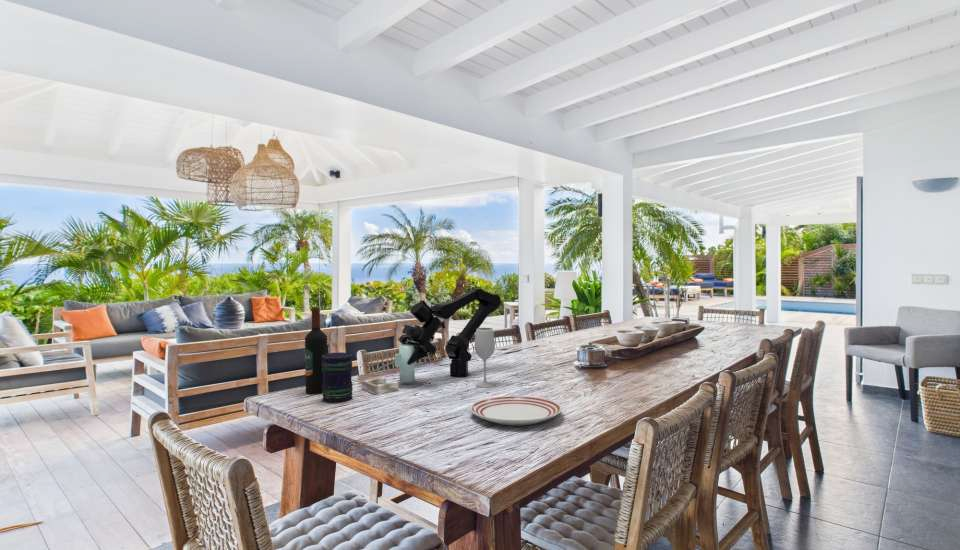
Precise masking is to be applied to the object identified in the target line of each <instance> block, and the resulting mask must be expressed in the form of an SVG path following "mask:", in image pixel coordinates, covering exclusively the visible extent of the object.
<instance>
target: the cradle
mask: <svg viewBox="0 0 960 550" xmlns="http://www.w3.org/2000/svg"><path fill="white" fill-rule="evenodd" d="M362 389H363V390H362ZM361 390H362V391H365V392H367V391H368V392H367V393H369V392H370V393H369V394H372V393H373V394H372V395H374V394H378V395H381V394H380V393H383V394H386V393H385V392H388V393H392V392H391V391H393V392H397V391H396V390H398V391H399V388H398V381H393V382H388V383H387V377H378V378H373V379H367V380H361Z"/></svg>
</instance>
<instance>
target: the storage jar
mask: <svg viewBox="0 0 960 550" xmlns="http://www.w3.org/2000/svg"><path fill="white" fill-rule="evenodd" d="M352 357H353V354H352V353H350V352H331V353H330V352H329V353H327V354H324V355H322V359H323V360H322V373H323V384H322V402H323V403H325V402H326V403H325V404H341V403H342V402H343V403H347V401H348V402H350V401H352V400H353V385H354V384H353V381H352V371H353V360H352V359H353V358H352ZM351 399H352V400H351Z"/></svg>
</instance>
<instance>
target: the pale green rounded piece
mask: <svg viewBox="0 0 960 550" xmlns="http://www.w3.org/2000/svg"><path fill="white" fill-rule="evenodd" d="M414 350H415V348H414V345H413V344H402V343H401V344H399V345H398V353H396V354H394V355H393V356H394V357H393V358H394V360H393V361H394V367H399V381H402V382H410V381H416V380H415V379H416V377H415V376H416V375H415V371H416V370H415V362H414V363H412V364H410V365H408V364H407V362H408V360H409V358H410V357H411V355H412V354H413V352H414Z"/></svg>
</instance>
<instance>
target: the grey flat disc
mask: <svg viewBox="0 0 960 550" xmlns="http://www.w3.org/2000/svg"><path fill="white" fill-rule="evenodd" d="M397 382H398V389H399V388H410V389H416V388H419V387H421V386H422V385H421V384H422V382H421V381H419V380H414V381H410V382H402V381H400V380H398V381H397ZM420 385H421V386H420ZM418 386H419V387H418ZM415 387H416V388H415Z"/></svg>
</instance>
